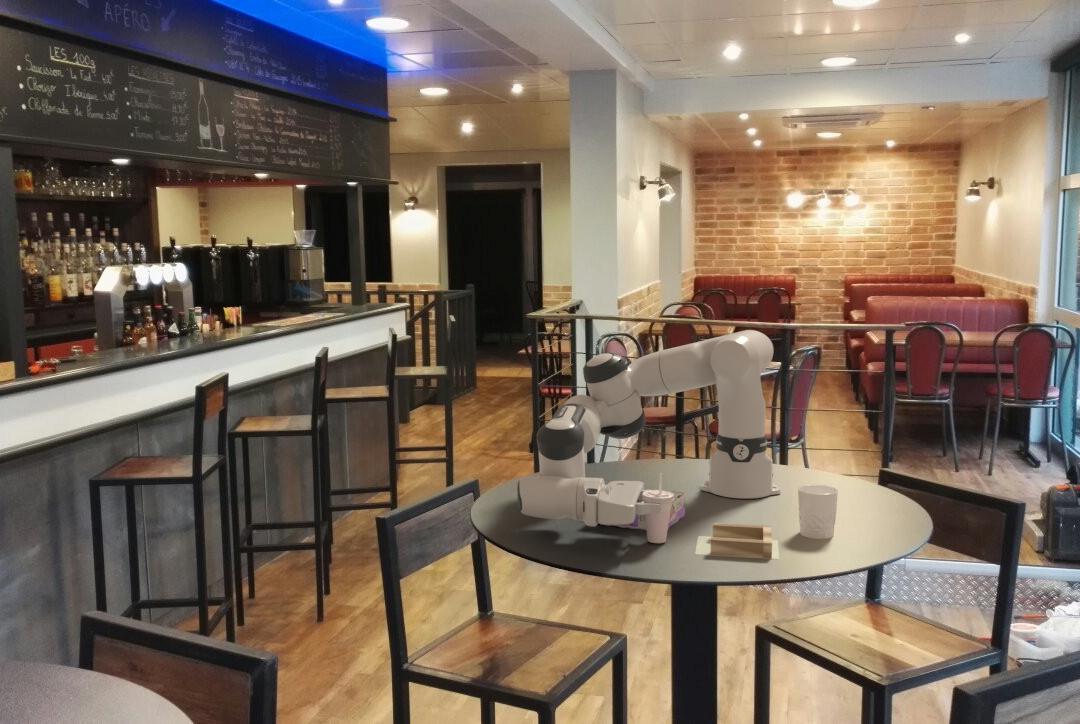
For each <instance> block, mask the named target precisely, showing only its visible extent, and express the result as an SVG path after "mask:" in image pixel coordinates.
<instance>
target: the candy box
mask: <svg viewBox="0 0 1080 724" xmlns="http://www.w3.org/2000/svg"><path fill="white" fill-rule="evenodd" d="M644 490H655V489H653V488H644ZM667 491H668V492H671V493H673V495H674V500H673V501H672V505H671V511H670V517H669V524H668V530H669V529H670V528H671V527H672V526H674V525H676V524H677V523H678V522H679V521H680V520H682V519H683V518H684V517H686V514H685V513H686V492H681V491H672V490H667ZM641 503H642V504H644V501H642V502H641ZM598 524H599V523H598ZM600 526H604V525H603V524H600ZM605 526H606V527H607V526H609V527H613V528H614V527H615V528H623V529H630V530H635V529H636V530H638V529H639V530H644V531H645V530H646V531H647V529H646V519H645V514H644V515H636V517H635V520H634V522H633V523H630V524H625V525H605Z"/></svg>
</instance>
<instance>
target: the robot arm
mask: <svg viewBox="0 0 1080 724" xmlns="http://www.w3.org/2000/svg"><path fill="white" fill-rule="evenodd" d="M774 350H775V349H774V344H773V342H772V340H771V339H770V338H769V336H767V335H766V334H764V333H762V332H761V331H757V330H755V329H754V330H753V329H745V330H741V331H737V332H733V333H732V332H731V333H728V334H725V335H721V336H716V337H712V338H709V339H704V340H700V341H697V342H692V343H687V344H685V345H684V344H683V345H680V346H676V347H671V348H667V349H663V350H659V351H654V352H653V353H652V352H651V353H649V354H646V355H643V356H641V357H639V358H636V359H634V360H633V361H632V359H630V358H629V357H624V356H622V355H621V354H618V353H614V352H605V353H600V354H598V355H595V356H593V357H592V358H591V359H589V360H587V361H586V362H585V364H584V366H583V368H582V373H583V379H584V382H585V383H586V385H587V386H586V387H587V390H588V392H589V395H586V394H576V395H574V396H572V397H570V398H569V399H567V400H566V401H565V402H564V404H561V405H560V406H559V407H558V408H557V410H556V411H555V412H554V414H553V416H552V418H551V419H550V420H549V421H547V422H546V423H544V424H542V426H541V427H540V428H539V429H538V431H537V433H536V444H537V449H538V461H539V463H538V464H539V473H538V474H537V475H534V476H525V477H519V480H518V482H517V488H516V489H517V506H518V510H519V511H520V513H522V514H523V515H525V516H529V517H534V518H540V519H546V520H547V519H549V520H561V519H562V520H563V519H572V520H575V521H578V522H579V521H583V522H584V525H586V526H587V527H597V526H599V525H598V523H599V524H603V525H602V526H606V525H625V524H630V523H633V522H634V520H635V517H636V515H644V514H650V513H660V510H661V504H660V503H653V502H652V503H646V504H642V503H641V502H642V501H644V500H643V499H642V493H643V492H645V491H648V490H644V489H645V483H644V482H643V481H640V480H612V481H610V482H609V481H608V483H607V484H606V483H605V479H604V478H603V477H586V469H585V468H586V467H585V454H587V453H589V452H591V450H593V449H594V448H595V446H596V444H597V443H598V441H599V438H600V435H604V436H608V437H609V438H613V439H617V440H624V439H628V438H631V437H634V436H636V435H638V434H639V433H640V432H641V431H643V429H644V428H645V426H646V413H645V410H644V409H643V407H642V403H641V399H640V397H657V396H665V395H671V394H677V393H680V392H681V393H682V392H685V391H686V392H687V391H692V390H695V389H696V390H697V389H701V388H705V387H708V386H712V385H715V386H716V392H717V399H718V401H717V402H718V427H717V428H718V433H716V438H715V442H716V443H715V445H716V446H715V447H716V451H715V453H713V454H712V455H711V456H710V458H709V463H708V464H709V472H708V479H707V480H706V481H705V482H704V483H702V485H701V487H700V490H701V491H704V492H708V493H712V494H714V495H716V496H717V495H718V496H721V497H723V498H724V497H725V498H731V499H759V498H766V497H768V496H772V495H773V496H775V495H779V494H781V489H780V487H779V486H778V485H777V484H776V483H775V482H774V480H773V476H774V473H773V459H772V458H771V457H770V456H769V454H767V449H768V447H767V446H768V439H767V438H768V436H767V435H766V410H767V409H766V408H767V407H766V401H765V398H764V394H763V388H762V380H761V373H762V372H763V371H766V369H767V368H768V367H769V366H770V363H771V362H772V361H773V356H774Z"/></svg>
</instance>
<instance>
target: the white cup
mask: <svg viewBox="0 0 1080 724" xmlns="http://www.w3.org/2000/svg"><path fill="white" fill-rule="evenodd" d="M838 491H839V490H838V489H837V488H835V487H833V486H829V485H824V484H823V485H822V484H805V485H801V486H799V487H798V495H797V496H798V520H799V521H798V522H799V533H800V535H801V536H803V537H805V538H808V539H815V540H826V539H831V538H833V537H834V534H835V526H836V518H837V510H838V509H837V508H838V494H839V492H838Z"/></svg>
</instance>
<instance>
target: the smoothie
mask: <svg viewBox="0 0 1080 724" xmlns="http://www.w3.org/2000/svg"><path fill="white" fill-rule="evenodd" d="M658 483H659V486H658V489H654V490H648V491H645V492H643V493H642V499H643V500H644V504H646V503H652V502H653V503H660V504H661V510H660V513H650V514H645V519H646V529H647V530H646V536H647V537H646V538H647V542H649V543H652V544H662V543H663V544H664V543H666V541H667V535H668V530H669V529H668V524H669V517H670V511H671V505H672V501H673V500H674V495H673V493H671V492H668V491H669V490H663V472H660V473H659V482H658Z"/></svg>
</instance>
